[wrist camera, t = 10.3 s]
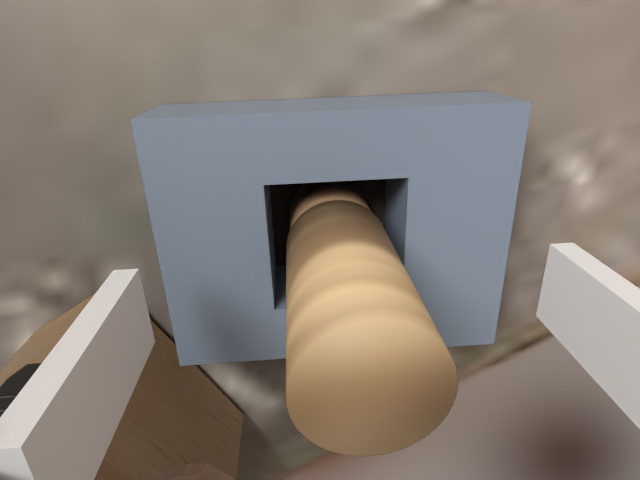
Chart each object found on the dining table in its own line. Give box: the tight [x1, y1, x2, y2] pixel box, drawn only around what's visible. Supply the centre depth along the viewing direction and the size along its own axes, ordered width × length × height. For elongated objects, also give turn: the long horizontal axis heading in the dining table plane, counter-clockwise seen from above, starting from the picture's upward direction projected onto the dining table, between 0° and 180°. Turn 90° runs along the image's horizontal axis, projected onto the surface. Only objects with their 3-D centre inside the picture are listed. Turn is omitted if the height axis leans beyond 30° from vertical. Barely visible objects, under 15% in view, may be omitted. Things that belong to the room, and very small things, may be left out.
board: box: [130, 91, 532, 366], centre depth 19 cm, size 10×14×4 cm
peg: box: [286, 181, 458, 456], centre depth 16 cm, size 4×4×12 cm
